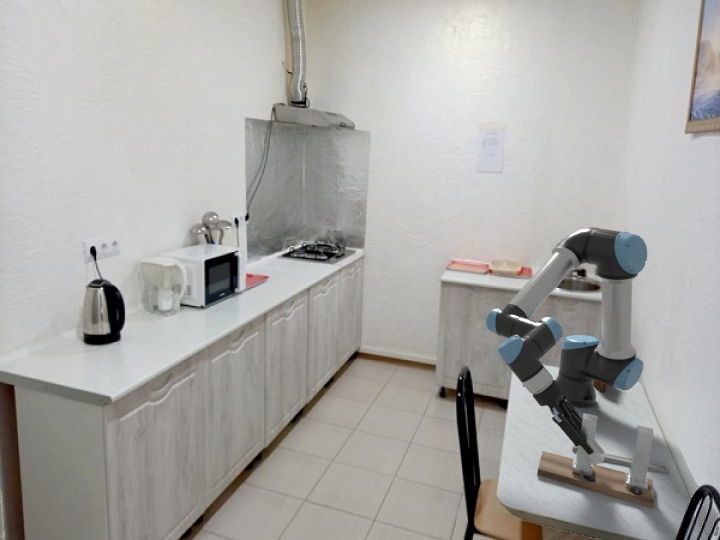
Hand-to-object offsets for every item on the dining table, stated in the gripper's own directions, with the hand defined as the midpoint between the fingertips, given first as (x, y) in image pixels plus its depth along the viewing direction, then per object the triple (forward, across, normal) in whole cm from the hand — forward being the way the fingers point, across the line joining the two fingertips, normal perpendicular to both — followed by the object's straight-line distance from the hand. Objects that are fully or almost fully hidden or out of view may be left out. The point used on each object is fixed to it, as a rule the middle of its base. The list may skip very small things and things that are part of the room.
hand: (600, 457), depth 141 cm
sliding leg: (+1, +1, -6) cm, 6 cm away
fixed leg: (+10, +1, +3) cm, 11 cm away
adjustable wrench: (+9, -13, -2) cm, 16 cm away
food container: (+4, -67, -7) cm, 67 cm away
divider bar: (+5, 0, -6) cm, 7 cm away
